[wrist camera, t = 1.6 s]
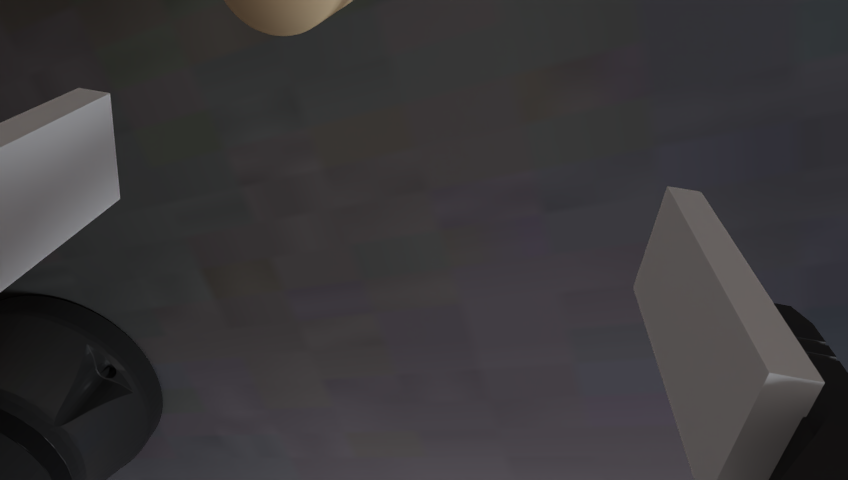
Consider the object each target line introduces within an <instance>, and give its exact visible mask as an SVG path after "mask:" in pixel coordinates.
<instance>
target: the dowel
mask: <svg viewBox="0 0 848 480" xmlns="http://www.w3.org/2000/svg"><path fill="white" fill-rule="evenodd" d="M224 1H225V2H226V4H227V5H228V7H229V8H230V9H231V10H232V12H233V13H234V14H235V15H236V16H237V17H238V18H239V19H241V20H242V21H243V22H244V23H246V24H247V25H249V26H250V27H252V28H254V29H256V30H258V31H260V32H263V33H266V34H270V35H275V36H291V35H296V34H300V33H303V32H305V31H308V30H310V29H311V28H313V27H315V26H316V25H318V24H319V23H321V22H322V21H324V20H325V19H327V18H328V17H330V16H331V15H332V14H334V13H335V12H337V11H338V10H340V9H341V8H343V7H344V6H346V5H347V4H349V3H350V2H352V1H353V0H224Z"/></svg>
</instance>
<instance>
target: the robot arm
mask: <svg viewBox="0 0 848 480" xmlns="http://www.w3.org/2000/svg"><path fill="white" fill-rule="evenodd" d="M119 199H120V191H119V181H118V171H117V160H116V150H115V140H114V130H113V119H112V109H111V99H110V93H106V92H100V91H94V90H88V89H82V88H77V89H75V90H73V91H71V92H68V93H66V94H64V95H62V96H60V97H57V98H55V99H53V100H51V101H48V102H46V103H44V104H42V105H39V106H37V107H35V108H33V109H30V110H28V111H26V112H24V113H21V114H19V115H17V116H15V117H13V118H10V119H8V120H6V121H4V122H1V123H0V292H1V291H3V290H4V289H5V288H7V287H8V286H9V285H10V284H12V283H13V282H14V281H15V280H17V279H18V278H19V277H21V276H22V275H23V274H24V273H26V272H27V271H28V270H30V269H31V268H32V267H33V266H35V265H36V264H37V263H39V262H40V261H41V260H42V259H44V258H45V257H46V256H48V255H49V254H50V253H51V252H53V251H54V250H55V249H57V248H58V247H59V246H60V245H62V244H63V243H64V242H65V241H67V240H68V239H69V238H71V237H72V236H73V235H74V234H76V233H77V232H78V231H80V230H81V229H82V228H83V227H85V226H86V225H87V224H89V223H90V222H91V221H92V220H94V219H95V218H96V217H98V216H99V215H100V214H101V213H103V212H104V211H105V210H106V209H108V208H109V207H110V206H112V205H113V204H114V203H115V202H117V201H118V200H119ZM633 289H634V292H635V295H636V298H637V301H638V305H639V308H640V311H641V314H642V317H643V320H644V323H645V327H646V330H647V333H648V336H649V339H650V342H651V345H652V349H653V352H654V355H655V358H656V361H657V364H658V367H659V371H660V374H661V377H662V380H663V383H664V386H665V389H666V393H667V396H668V399H669V402H670V405H671V408H672V411H673V415H674V418H675V421H676V424H677V427H678V430H679V433H680V437H681V440H682V443H683V446H684V449H685V452H686V455H687V459H688V462H689V465H690V468H691V471H692V474H693V477H694V480H848V373H847V371H846V370H845V368H844V367H843V366H842V364H841V363H840V361H836V356H835V354H834V353H833V352H832V350H831V349H830V347H829V346H827V345H825V343H826V342H825V340H824V339H823V338H822V336H821V335H820V333H819V332H818V331H817V329H816V328H815V326H814V325H813V324H812V323H811V322H810V321H809V320H807V319H806V318H805V317H803V316H802V315H801V314H800V313H798V312H797V311H796V310H795V309H793V308H792V307H791V306H787V305H781V304H775V303H773V302H772V300H771V299H770V297H769V296H768V294H767V293H766V291H765V289H764V288H763V286H762V285H761V283H760V282H759V280H758V279H757V277H756V276H755V274H754V273H753V271H752V269H751V268H750V266H749V265H748V263H747V262H746V260H745V259H744V257H743V256H742V254H741V253H740V251H739V249H738V248H737V246H736V245H735V243H734V242H733V240H732V239H731V237H730V236H729V234H728V233H727V231H726V229H725V228H724V226H723V225H722V223H721V222H720V220H719V219H718V217H717V216H716V214H715V213H714V211H713V209H712V208H711V206H710V205H709V203H708V202H707V200H706V199H705V197H704V196H703V194H702V193H701V192H699V191H693V190H687V189H681V188H675V187H669V186H667V189H666V192H665V195H664V198H663V201H662V204H661V207H660V210H659V213H658V216H657V218H656V221H655V224H654V227H653V230H652V233H651V236H650V239H649V242H648V245H647V248H646V251H645V254H644V257H643V260H642V263H641V266H640V269H639V272H638V275H637V278H636V281H635V284H634V286H633ZM162 406H163V404H162V392H161V387H160V384H159V381H158V378H157V376H156V373H155V371H154V369H153V367H152V366H151V364H150V362H149V361H148V359H147V358H146V356H145V355H144V354H143V352H142V351H141V350H140V349H139V347H138V346H137V345H136V344H135V343H134V342H133V341H132V340H131V339H130V338H129V337H128V336H127V335H126V334H125V333H124V332H122V331H121V330H120V329H119V328H117V327H116V326H115V325H114V324H112V323H111V322H109V321H108V320H106V319H104V318H103V317H101V316H100V315H98V314H96V313H94V312H92V311H90V310H88V309H86V308H84V307H81V306H79V305H76V304H73V303H70V302H67V301H64V300H60V299H56V298H51V297H44V296H18V297H12V298H8V299H4V300H1V301H0V480H106V479H108V478H109V477H110V476H111V475H113V474H114V473H115V472H116V471H118V470H119V469H120V468H122V467H123V466H125V465H126V464H127V463H129V462H130V461H131V460H132V459H134V458H135V456H136V455H137V454H138V453H139V452H140V451H141V450H142V448H143V447H144V446H145V444H146V443H147V441H148V440H149V438H150V437H151V435H152V434H153V432H154V430H155V429H156V427H157V425H158V423H159V421H160V418H161V413H162Z"/></svg>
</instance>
